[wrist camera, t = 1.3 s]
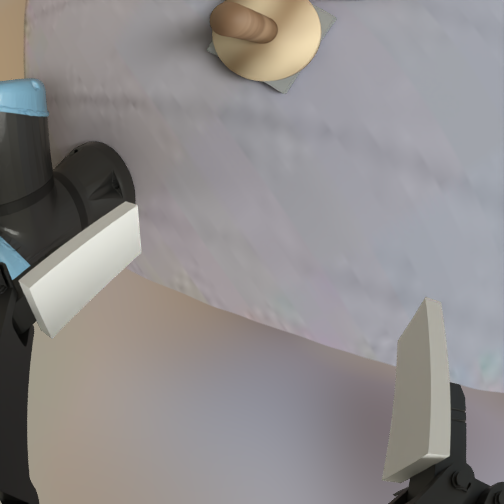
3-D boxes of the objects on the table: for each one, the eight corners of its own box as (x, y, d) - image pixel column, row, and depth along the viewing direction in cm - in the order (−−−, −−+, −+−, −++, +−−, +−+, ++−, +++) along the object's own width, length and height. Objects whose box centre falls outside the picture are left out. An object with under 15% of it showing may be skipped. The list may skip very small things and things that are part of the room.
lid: (201, 52, 29) (148, 52, 22) (248, -29, 22) (205, -55, 15) (285, 100, 29) (252, 110, 22) (342, 16, 22) (329, -8, 15)
